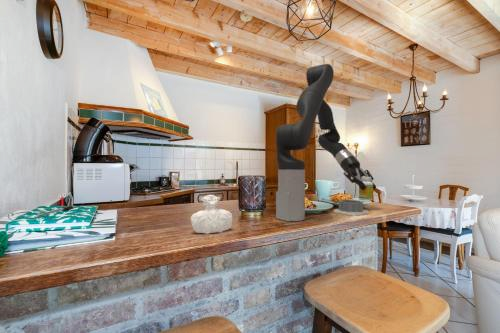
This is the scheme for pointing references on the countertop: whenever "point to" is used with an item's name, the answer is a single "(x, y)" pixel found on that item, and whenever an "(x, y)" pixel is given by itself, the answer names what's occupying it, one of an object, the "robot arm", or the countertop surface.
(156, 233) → the countertop surface
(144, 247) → the countertop surface
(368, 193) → the beer glass
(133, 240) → the countertop surface
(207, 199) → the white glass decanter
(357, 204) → the grey low cylinder
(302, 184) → the robot arm
